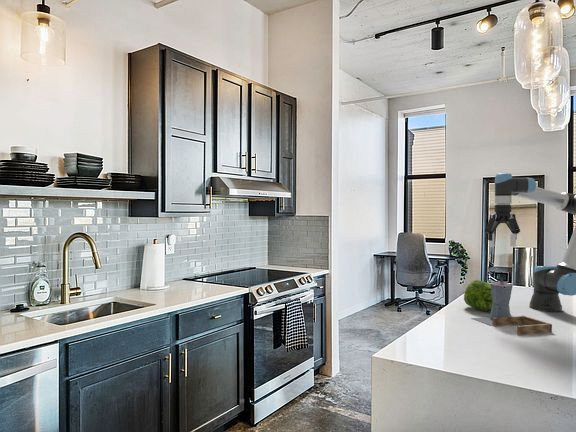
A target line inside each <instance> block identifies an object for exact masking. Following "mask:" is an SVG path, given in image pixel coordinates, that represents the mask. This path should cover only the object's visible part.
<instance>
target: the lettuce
mask: <svg viewBox="0 0 576 432" xmlns="http://www.w3.org/2000/svg"><path fill="white" fill-rule="evenodd" d="M463 300H464V302H465V304H466V305H468V306H469V307H470V308H472V309H475V310H479V311H483V312H484V311H485V312H491V308H492V304H493V299H492V295H491V283H490V282H489V283H488V282H487V281H483V280H479V279H475V280H472V281H471V282H470V283H468V285H467V286H466V288H465V291H464V293H463Z"/></svg>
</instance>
